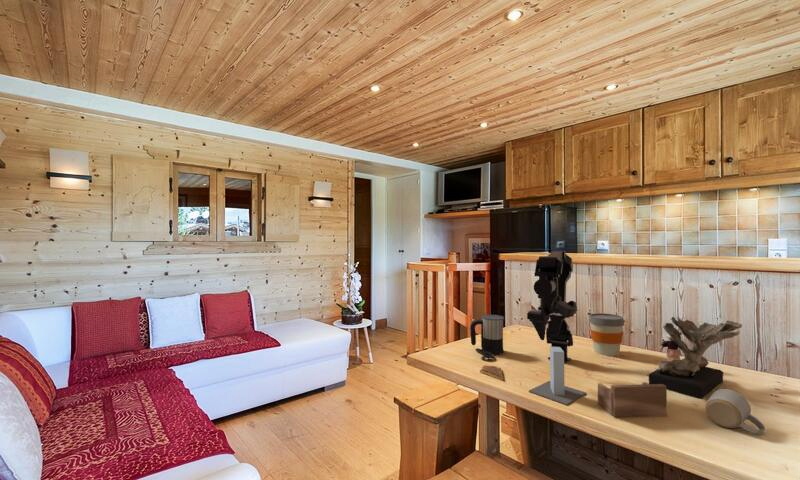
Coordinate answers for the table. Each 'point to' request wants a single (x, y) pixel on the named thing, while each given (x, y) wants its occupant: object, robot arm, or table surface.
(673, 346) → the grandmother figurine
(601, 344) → the reusable coffee cup
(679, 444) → the table surface
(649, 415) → the brown wooden box
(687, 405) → the table surface
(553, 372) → the pale grey rectangular block
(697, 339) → the driftwood sculpture
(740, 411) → the ceramic mug
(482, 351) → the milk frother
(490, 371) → the shard
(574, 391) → the rubber mat
